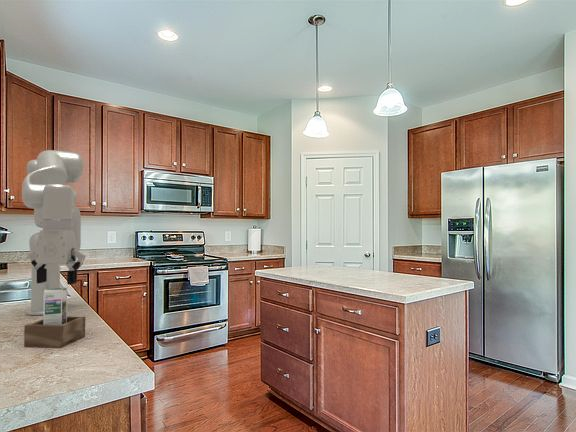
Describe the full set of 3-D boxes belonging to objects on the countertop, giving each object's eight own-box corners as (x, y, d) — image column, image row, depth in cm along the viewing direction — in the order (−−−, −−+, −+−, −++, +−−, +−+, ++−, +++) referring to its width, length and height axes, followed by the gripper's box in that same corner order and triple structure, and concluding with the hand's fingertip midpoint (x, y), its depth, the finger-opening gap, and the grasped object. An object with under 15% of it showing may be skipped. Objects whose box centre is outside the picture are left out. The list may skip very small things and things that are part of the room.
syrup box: (42, 341, 106) (43, 290, 106) (45, 336, 111) (45, 287, 111) (65, 339, 108) (66, 289, 109) (67, 333, 114) (67, 286, 114)
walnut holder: (52, 335, 115) (52, 316, 115) (85, 336, 114) (85, 316, 114) (24, 346, 104) (24, 325, 105) (60, 348, 103) (60, 326, 104)
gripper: (20, 225, 107) (19, 284, 107) (76, 226, 106) (75, 286, 106) (40, 225, 115) (39, 280, 115) (92, 226, 113) (91, 281, 113)
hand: (56, 283), depth 110 cm, fingers open, 9 cm apart
